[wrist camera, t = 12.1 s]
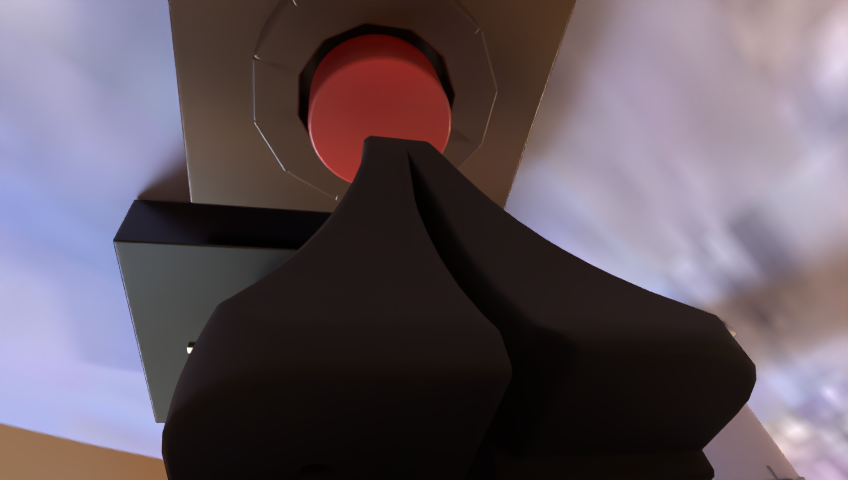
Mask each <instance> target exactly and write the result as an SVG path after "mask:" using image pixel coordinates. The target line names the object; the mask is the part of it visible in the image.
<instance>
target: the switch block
mask: <svg viewBox="0 0 848 480" xmlns="http://www.w3.org/2000/svg"><path fill="white" fill-rule="evenodd" d="M575 2H576V0H168V4H169V13H170V22H171V31H172V40H173V49H174V58H175V67H176V76H177V85H178V94H179V103H180V112H181V121H182V130H183V139H184V148H185V157H186V167H187V176H188V185H189V194H190V201H191V203H198V204H212V205H227V206H241V207H256V208H270V209H285V210H299V211H314V212H329V213H333V211H334V210H335V209H336V207H337V206H338V205H339V203H340V202H341V200H342V198H343V197H344V195H345V193H346V192H347V190H348V188H349V187H350V185H351V183H350V182H347V181H345V180H344V179H342V178H340V177H338V176H337V175H335V174H334V173H333V172H332V171H331V170H329V169H328V168H327V167H326V166H325V165H324V164H323V162H322V161H321V160H320V159H319V157H318V155H317V154H316V152H315V150H314V148H313V146H312V143H311V140H310V137H309V131H308V112H309V98H310V88H311V83H312V79H313V76H314V74H315V72H316V69H317V67H318V66H319V64H320V63H321V61H322V60H323V59H324V57H325V56H326V55H327V54H328V53H329V52H330V51H331V50H332V49H334V48H335V47H336V46H338V45H339V44H341V43H343V42H345V41H347V40H349V39H351V38H354V37H357V36H362V35H367V34H383V35H389V36H394V37H397V38H400V39H402V40H405V41H407V42H408V43H410V44H412V45H413V46H415V47H416V48H418V49H419V50H420V51H421V52H422V53H423V54H424V55H425V56H426V57H427V58H428V60H429V61H430V62H431V64H432V66H433V67H434V69H435V71H436V73H437V76H438V78H439V80H440V82H441V85H442V87H443V89H444V92H445V94H446V96H447V99H448V101H449V105H450V109H451V117H452V123H451V132H450V136H449V140H448V143H447V145H446V147H445V149H444V151H443V153H442V155H443V156H444V157H445V158H446V159H447V160H448V161H449V162H450V163H452V164H453V165H454V166H455V167H456V168H457V169H458V170H459V171H460V172H461V173H462V174H463V175H464V176H465V177H466V178H467V179H468V180H469V181H471V182H472V183H473V184H474V185H475V186H476V187H477V188H478V189H479V190H481V191H482V192H483V193H484V194H485V195H486V196H487V197H489V198H490V199H491V200H492V201H494V202H495V203H496V204H497V205H499V206H500V207H501V208H502V209H503V210H504V207H505V204H506V201H507V198H508V196H509V193H510V190H511V187H512V184H513V181H514V178H515V175H516V173H517V170H518V167H519V164H520V161H521V158H522V155H523V152H524V149H525V147H526V144H527V141H528V138H529V135H530V132H531V129H532V126H533V124H534V121H535V118H536V115H537V112H538V109H539V106H540V103H541V100H542V98H543V95H544V92H545V89H546V86H547V83H548V80H549V77H550V74H551V72H552V69H553V66H554V63H555V60H556V57H557V54H558V51H559V49H560V46H561V43H562V40H563V37H564V34H565V31H566V28H567V25H568V23H569V20H570V17H571V14H572V11H573V8H574V5H575Z"/></svg>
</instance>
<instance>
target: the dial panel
mask: <svg viewBox="0 0 848 480" xmlns="http://www.w3.org/2000/svg"><path fill="white" fill-rule="evenodd" d="M331 214H332V213H325V212H310V211H296V210H281V209H267V208H252V207H238V206H223V205H209V204H194V203H179V202H165V201H150V200H134V202H133V204H132V205H131V207H130V209H129V211H128V213H127V215H126V217H125V219H124V221H123V223H122V224H121V226H120V228H119V230H118V232H117V234H116V236H115V238H114V240H113V242H114V247H115V251H116V255H117V259H118V264H119V268H120V272H121V276H122V281H123V285H124V289H125V293H126V298H127V302H128V306H129V310H130V315H131V319H132V323H133V327H134V332H135V336H136V340H137V344H138V349H139V353H140V357H141V361H142V365H143V370H144V374H145V378H146V382H147V387H148V391H149V395H150V399H151V404H152V408H153V412H154V416H155V421H156V423H165V422H166V418H167V415H168V411H169V408H170V404H171V401H172V397H173V394H174V391H175V387H176V384H177V382H178V380H179V377H180V375H181V372H182V370H183V368H184V366H185V363H186V361H187V359H188V357H189V354H190V352H191V350H192V349H193V347H194V345H195V343H196V341H197V339H198V337H199V335H200V334H201V332H202V330H203V328H204V327H205V325H206V323H207V322H208V320H209V318H210V317H211V315H212V313H213V312H214V310H215V308H216V307H217V305H218V304H220V303H221V302H223V301H224V300H226V299H228V298H230V297H232V296H234V295H235V294H237V293H239V292H240V291H242V290H244V289H245V288H247V287H249V286H250V285H252V284H254V283H255V282H257V281H259V280H260V279H262V278H263V277H265V276H266V275H267V274H269V273H270V272H271V271H273V270H274V269H275V268H276V267H278V266H279V265H280V264H281V263H283V262H284V261H285V260H286V259H288V258H289V257H290V256H291V255H293V254H294V253H295V252H296V251H297V250H299V249H300V248H301V247H302V246H303V245H304V244H305V243H306V242H307V241H308V240H309V239H310V238H311V237H312V236H313V235H314V234H315V233H316V232H317V231H318V229H319V228H320V227H321V226H322V225H323V224H324V223H325V222H326V220H327V219H328V218H329V217H330V215H331Z"/></svg>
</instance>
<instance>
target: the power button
mask: <svg viewBox="0 0 848 480" xmlns="http://www.w3.org/2000/svg"><path fill="white" fill-rule="evenodd" d="M451 123H452V117H451V109H450V105H449V101H448V99H447V96H446V94H445V92H444V89H443V87H442V85H441V82H440V80H439V78H438V76H437V73H436V71H435V69H434V67H433V66H432V64H431V62H430V61H429V60H428V58H427V57H426V56H425V55H424V54H423V53H422V52H421V51H420V50H419V49H418V48H416V47H415V46H413V45H412V44H410V43H408V42H407V41H405V40H402V39H400V38H397V37H394V36H389V35H383V34H367V35H362V36H357V37H354V38H351V39H349V40H347V41H345V42H343V43H341V44H339V45H338V46H336V47H335V48H334V49H332V50H331V51H330V52H329V53H328V54H327V55H326V56H325V57H324V59H323V60H322V61H321V63H320V64H319V66H318V67H317V69H316V72H315V74H314V76H313V79H312V83H311V88H310V98H309V112H308V131H309V137H310V140H311V143H312V146H313V148H314V150H315V152H316V154H317V155H318V157H319V159H320V160H321V161H322V162H323V164H324V165H325V166H326V167H327V168H328V169H329V170H331V171H332V172H333V173H334V174H335V175H337V176H338V177H340V178H342V179H344V180H345V181H347V182H350V183H352V182H353V180H354V178H355V175H356V173H357V171H358V169H359V166H360V164H361V158H362V150H363V142H364V139H366V138H367V137H369V136H370V135H371V136H380V137H390V138H399V139H408V140H418V141H427V142H429V143H430V144H431V145H432V146H434V147H435V148H436V149H437V150H438V151H439V152H440V153H441V154H442V153H443V151H444V149H445V147H446V145H447V143H448V140H449V136H450V132H451Z"/></svg>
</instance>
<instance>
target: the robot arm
mask: <svg viewBox="0 0 848 480" xmlns="http://www.w3.org/2000/svg"><path fill="white" fill-rule="evenodd" d="M735 335H736V332H735V330H734V329H733V328H732V327H729V326H725V325H724V324H723V323H722V321H721V320H720V319H719V318H718V317H717V316H716V315H714V314H711V313H708V312H705V311H702V310H700V309H697V308H694V307H691V306H689V305H686V304H683V303H680V302H678V301H675V300H672V299H669V298H667V297H664V296H661V295H658V294H656V293H653V292H650V291H648V290H646V289H643V288H641V287H639V286H636V285H634V284H632V283H630V282H627V281H625V280H623V279H620V278H618V277H616V276H614V275H611V274H609V273H607V272H605V271H603V270H601V269H599V268H597V267H595V266H593V265H591V264H589V263H587V262H585V261H583V260H582V259H580V258H578V257H576V256H574V255H572V254H571V253H569V252H567V251H565V250H563V249H561V248H560V247H558V246H556V245H555V244H553V243H551V242H550V241H548V240H546V239H545V238H543V237H542V236H540V235H539V234H537V233H536V232H534V231H533V230H531V229H530V228H528V227H527V226H525V225H524V224H522V223H521V222H519V221H518V220H517V219H515V218H514V217H512V216H511V215H510V214H508V213H507V212H506V211H505V210H503V209H502V208H501V207H500V206H499V205H497V204H496V203H495V202H494V201H492V200H491V199H490V198H489V197H487V196H486V195H485V194H484V193H483V192H482V191H481V190H479V189H478V188H477V187H476V186H475V185H474V184H473V183H472V182H471V181H469V180H468V179H467V178H466V177H465V176H464V175H463V174H462V173H461V172H460V171H459V170H458V169H457V168H456V167H455V166H454V165H453V164H452V163H450V162H449V161H448V160H447V159H446V158H445V157H444V156H443V155H442V154H441V153H440V152H439V151H438V150H437V149H436V148H435V147H434V146H432V145H431V144H430V143H429V142H427V141H418V140H408V139H399V138H390V137H380V136H371V135H370V136H369V137H367V138H366V139H364V142H363V150H362V158H361V164H360V166H359V169H358V171H357V173H356V175H355V178H354V180H353V182H352V183H351V185H350V187H349V188H348V190H347V192H346V193H345V195H344V197H343V198H342V200H341V202H340V203H339V205H338V206H337V207H336V209H335V210H334V211H333V213H332V214H331V215H330V217H329V218H328V219H327V220H326V222H325V223H324V224H323V225H322V226H321V227H320V228H319V229H318V231H317V232H316V233H315V234H314V235H313V236H312V237H311V238H310V239H309V240H308V241H307V242H306V243H305V244H304V245H303V246H302V247H301V248H300V249H299V250H297V251H296V252H295V253H294V254H293V255H291V256H290V257H289V258H288V259H286V260H285V261H284V262H283V263H281V264H280V265H279V266H278V267H276V268H275V269H274V270H273V271H271V272H270V273H269V274H267V275H266V276H265V277H263V278H262V279H260V280H259V281H257V282H255V283H254V284H252V285H250V286H249V287H247V288H245V289H244V290H242V291H240V292H239V293H237V294H235V295H234V296H232V297H230V298H228V299H226V300H224V301H223V302H221V303H220V304H218V305H217V307H216V308H215V310H214V312H213V313H212V315H211V317H210V318H209V320H208V322H207V323H206V325H205V327H204V328H203V330H202V332H201V334H200V335H199V337H198V339H197V341H196V343H195V345H194V347H193V349H192V350H191V352H190V354H189V357H188V359H187V361H186V363H185V366H184V368H183V370H182V372H181V375H180V377H179V380H178V382H177V384H176V387H175V391H174V394H173V397H172V401H171V404H170V408H169V411H168V415H167V418H166V422H165V426H164V429H163V433H162V456H163V460H164V464H165V469H166V473H167V477H168V480H805V478H804V477H800V476H799V475H798V474H797V472H796V471H795V469H794V468H793V467H792V465H791V464H790V463H789V461H788V460H787V458H786V457H785V456H784V454H783V453H782V452H781V450H780V449H779V447H778V446H777V445H776V443H775V442H774V441H773V439H772V438H771V436H770V435H769V434H768V432H767V431H766V430H765V428H764V427H763V425H762V424H761V423H760V421H759V420H758V419H757V417H756V416H755V414H754V413H753V412H752V410H751V409H750V408H749V406H748V405H747V403H746V402H747V401H748V400H749V398H750V395H751V393H752V390H753V388H754V385H755V382H756V368H755V364H754V363H753V362H752V360H751V359H750V358H749V357H748V355H747V354H746V353H745V351H744V350H743V349H742V347H741V346H740V345H739V344H738V342H737V341H736V340H735V338H734V337H735Z"/></svg>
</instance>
